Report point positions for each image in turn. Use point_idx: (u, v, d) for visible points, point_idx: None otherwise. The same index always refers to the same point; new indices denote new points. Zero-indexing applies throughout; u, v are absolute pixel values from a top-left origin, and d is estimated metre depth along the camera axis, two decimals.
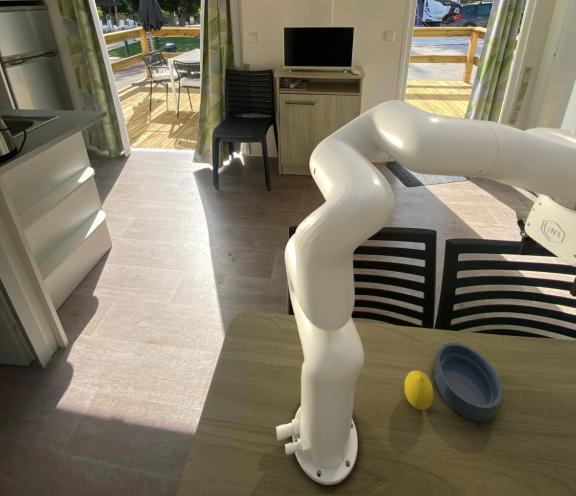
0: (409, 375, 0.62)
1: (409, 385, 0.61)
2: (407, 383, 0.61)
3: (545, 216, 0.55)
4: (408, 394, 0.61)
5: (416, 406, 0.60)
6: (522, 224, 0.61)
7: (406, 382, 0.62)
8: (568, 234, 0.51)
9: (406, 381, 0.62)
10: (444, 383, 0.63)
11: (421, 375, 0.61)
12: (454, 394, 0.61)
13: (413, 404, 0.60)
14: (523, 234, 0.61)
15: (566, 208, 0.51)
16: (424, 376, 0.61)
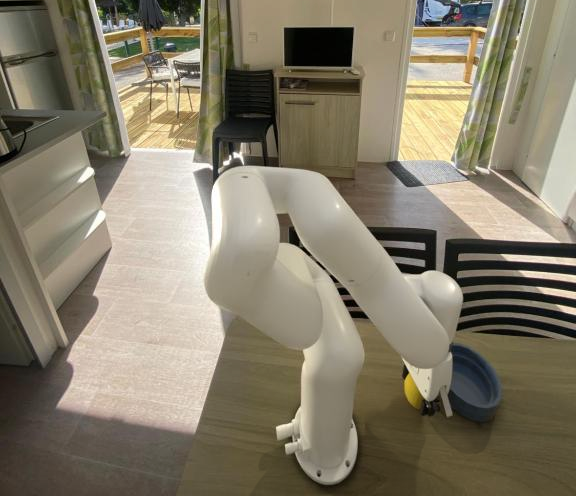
0: (409, 375, 0.62)
1: (409, 385, 0.61)
2: (407, 382, 0.61)
3: None
4: (408, 394, 0.61)
5: (416, 406, 0.60)
6: None
7: (406, 382, 0.62)
8: (421, 369, 0.56)
9: (406, 381, 0.62)
10: None
11: None
12: (454, 394, 0.61)
13: (413, 404, 0.60)
14: (404, 360, 0.64)
15: None
16: None
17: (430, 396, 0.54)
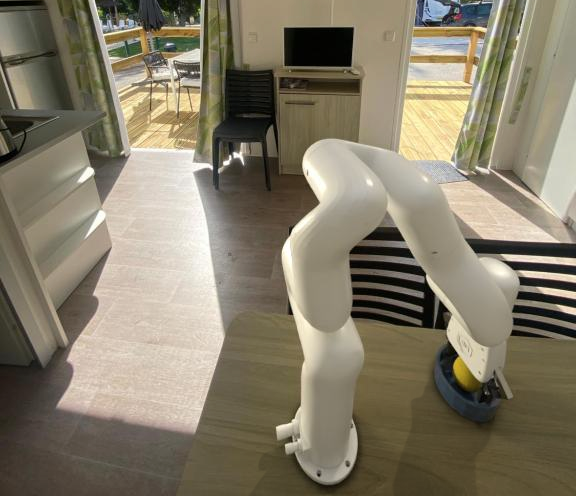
0: (458, 359, 0.65)
1: (459, 369, 0.63)
2: (457, 366, 0.64)
3: (459, 329, 0.62)
4: (458, 378, 0.63)
5: (467, 389, 0.62)
6: (448, 328, 0.68)
7: (455, 366, 0.64)
8: (474, 352, 0.58)
9: (455, 365, 0.64)
10: (444, 383, 0.63)
11: None
12: (454, 394, 0.61)
13: (464, 387, 0.62)
14: None
15: None
16: None
17: (485, 377, 0.57)
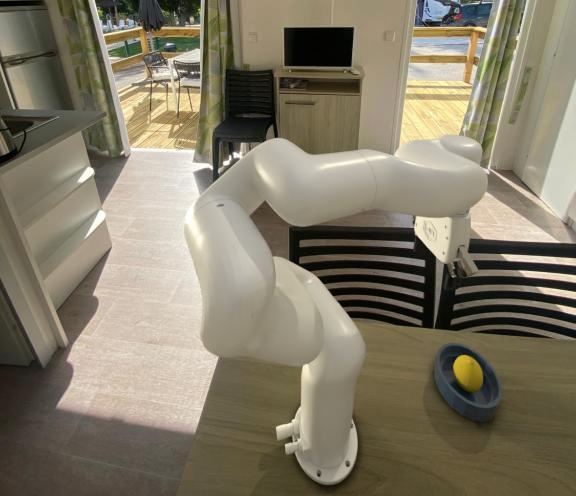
0: (458, 359, 0.65)
1: (459, 369, 0.63)
2: (457, 366, 0.64)
3: (425, 216, 0.59)
4: (458, 378, 0.63)
5: (467, 389, 0.62)
6: None
7: (455, 366, 0.64)
8: (438, 233, 0.56)
9: (455, 365, 0.64)
10: (444, 383, 0.63)
11: (471, 359, 0.63)
12: (454, 394, 0.61)
13: (464, 387, 0.62)
14: (416, 233, 0.65)
15: None
16: (473, 360, 0.64)
17: (448, 256, 0.54)
